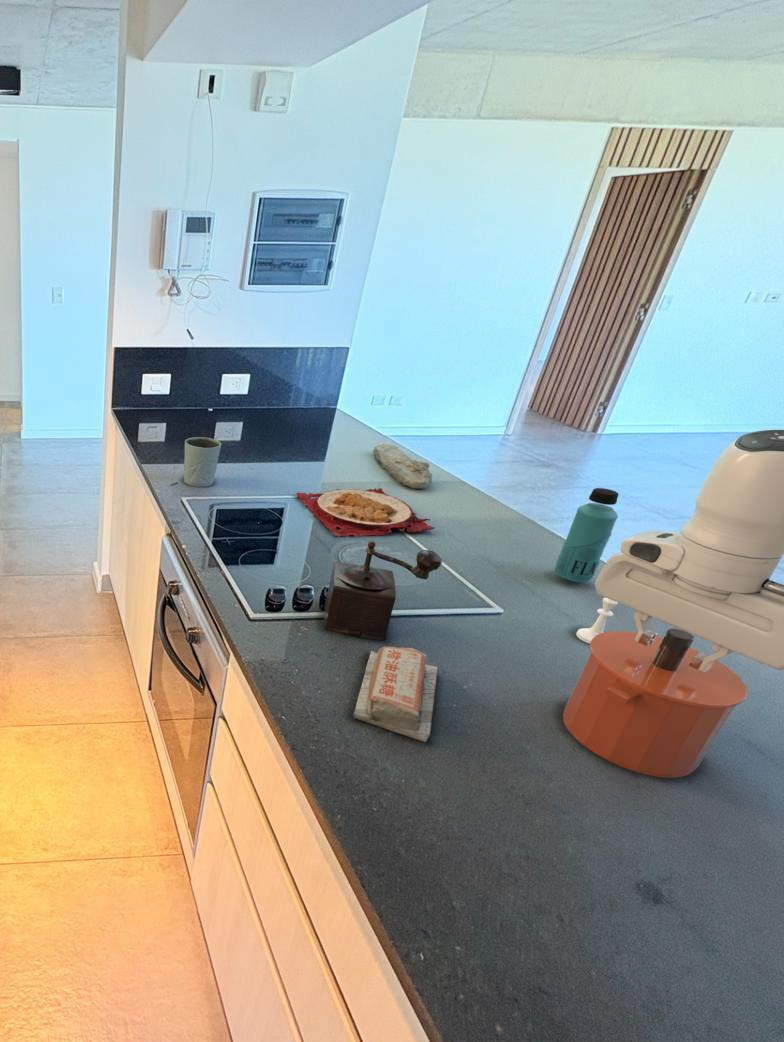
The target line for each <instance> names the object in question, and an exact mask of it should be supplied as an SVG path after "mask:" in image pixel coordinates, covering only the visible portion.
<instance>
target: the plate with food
mask: <svg viewBox="0 0 784 1042" xmlns="http://www.w3.org/2000/svg"><path fill="white" fill-rule="evenodd" d="M295 494H296V498H298V499H299V501H300V502H301V504H302V505H304V506H305V507H307V508H308V510H309V511H310V512H312V513H313V515H314V516H316V518H317V519H318V520H319V521H320V522H322V524H323V526H324V527H326V529H328V531H330V533H331V534H332V535H333V536H334V537H349V536H353V537H363V536H382V535H384V536H385V535H388V534H390V533H392V530H391V529H394V528H397V530H398V531H399V532H401V531H402V532H403V531H405V529H406V532H407V533H416V532H421V531H427V530H428V531H432V530H434V529H435V528H436V527H435V526H431V525H428V523H426V522H427V521H431V519H430V518H419V517H418V516H417V513H415V512H414V511H413V509H412V508H411V506H410V505H409V504H407V503H406V502H405V501H403V500H402V499H399V498H397V497H395V496H390V495H388V494H386V493H385V491H383V488H381V487H379V488H378V489H377V488H373V489H372V488H369V489H356V488H353V489H351V488H350V489H340V488H336V489H334V490H329V491H327V492H323V493H319V492H317V493H311V492H309V494H308V493H306V492H300V491H299V492H296V493H295ZM425 521H426V522H425ZM337 527H338V528H340V529H337ZM334 533H335V534H336V535H335V534H334Z"/></svg>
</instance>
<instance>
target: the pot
mask: <svg viewBox="0 0 784 1042" xmlns="http://www.w3.org/2000/svg"><path fill="white" fill-rule="evenodd" d="M735 707H736V706H733V707H729V708H706V707H698V706H692V705H687V704H682V703H678V702H675V701H671V700H668V699H665V698H662V697H659V696H656V695H653V694H650V693H648V692H646V691H643V690H641V689H639V688H636V687H634V686H632V685H630V684H628V683H626V682H625V681H623V680H621V679H619V678H618V677H616V676H614V675H613V674H611V673H610V672H609V671H607V670H606V669H605V668H603V667H602V666H601V665H600V664H599V663H598V662H597V661H596V660H595V659H594V657H593V656H592V654H591V652H590V651H589V654H588V656H587V658H586V660H585V663H584V665H583V667H582V669H581V672H580V674H579V676H578V678H577V680H576V683H575V684H574V687H573V689H572V691H571V693H570V695H569V698H568V700H567V702H566V704H565V707H564V711H563V713H562V720H563V723H564V726H565V727H566V729H567V730H568V732H569V733H570V734H571V735H572V736H573V737H574V738H575V740H577V742H578V743H580V744H581V745H583V746H584V747H585V748H587V749H588V750H590V751H591V752H592V753H594V754H595V755H597V756H599V757H601V758H603V759H604V760H606V761H609V762H610V763H612V764H615V765H617V766H619V767H622V768H625V769H626V770H629V771H633V772H636V773H640V774H643V775H647V776H652V777H656V778H664V779H665V778H667V779H674V778H677V779H678V778H682V777H687V776H688V775H690V774H692V773H693V772H694V771H695V770H697V769H698V768H699V766H700V764H701V763H702V761H703V759H704V758H705V756H706V755H707V753H708V752H709V750H710V748H711V746H712V745H713V743H714V742H715V740H716V739H717V737H718V735H719V734H720V732H721V730H722V729H723V727H724V725H725V724H726V723H727V722H728V719H729V718H730V716H731V715H732V712H733V711H734V709H735Z"/></svg>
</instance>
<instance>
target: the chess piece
mask: <svg viewBox="0 0 784 1042" xmlns="http://www.w3.org/2000/svg"><path fill="white" fill-rule="evenodd" d="M618 604H619V603H618V602H615V601H613V600H611V599H608V598H606V597H603V598H602V608H598V609H597V611H596V612H597V613H598V614H599V616H598V617H597V619H596V621H595V622H594V624H592V626H591V627H589V628H588V627H582V628H578V630H576V631H577V632H576V633H575V634H576V636H577V638H578V639H579V640H580V641H582V642H585V643H587V644H589V645H590V642H591V640H592V639H593V638H594V637H595V636H596V635H598V634H601V633H605V631H604V630H605V627H606V624H607V623H606V622H607V619H608V617H613V616H614V612H612V610H613V609H614V608H615V607H616V606H617V605H618Z"/></svg>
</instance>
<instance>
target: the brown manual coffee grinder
mask: <svg viewBox="0 0 784 1042" xmlns="http://www.w3.org/2000/svg"><path fill="white" fill-rule="evenodd" d="M376 546H377V543H376V542H375V541H374V540H370V541H368V543H367V547H366V548H365V552H366V556H365V559H364V560H365V561H364V564H354V563H349V562H343V561H334V563H333V568H332V572H331V576H330V579H329V585H328V589H327V594H326V598H325V601H324V609H323V610H324V611H323V612H324V614H323V628H324V630H325V631H330V632H334V633H337V634H342V635H346V636H350V637H355V638H363V639H368V640H376V641H387V633H388V629H389V628H388V627H389V624H390V621H391V617H392V614H393V609H394V606H395V602H396V598H397V589H396V580H395V576H394V572H393V570H390V569H385V568H379V567H373V566H371V563H372V558H373V556H374V557H376V558H377V559H380V560H383V561H386V562H390V563H393V564H395V565H398V566H400V567H403V568H405V569H406V570H408V571H409V572H410V573H412V574H413V576H415V578H416V579H417V578H418V579H419V580H420V579H421V580H428V579H429V578H430V573H431V572H434V571H436V570H438V569H439V568H440V566H441V565H442V564H443V559H442V557H441V556H440V555H439V554H438V553H436V552H435V551H434V550H430V549H422V550H419V551H418V552H417V554H416V558H415V560H416V565H415V566H413V565H411V564H409V563H408V562H406V561H403V560H401V559H398V558H394V556H393V557H392V556H389V555H387V554H384V553H381V552H378V551H376V549H375V548H376Z"/></svg>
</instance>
